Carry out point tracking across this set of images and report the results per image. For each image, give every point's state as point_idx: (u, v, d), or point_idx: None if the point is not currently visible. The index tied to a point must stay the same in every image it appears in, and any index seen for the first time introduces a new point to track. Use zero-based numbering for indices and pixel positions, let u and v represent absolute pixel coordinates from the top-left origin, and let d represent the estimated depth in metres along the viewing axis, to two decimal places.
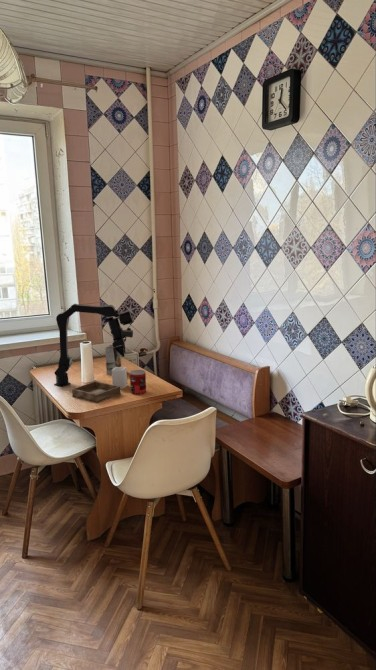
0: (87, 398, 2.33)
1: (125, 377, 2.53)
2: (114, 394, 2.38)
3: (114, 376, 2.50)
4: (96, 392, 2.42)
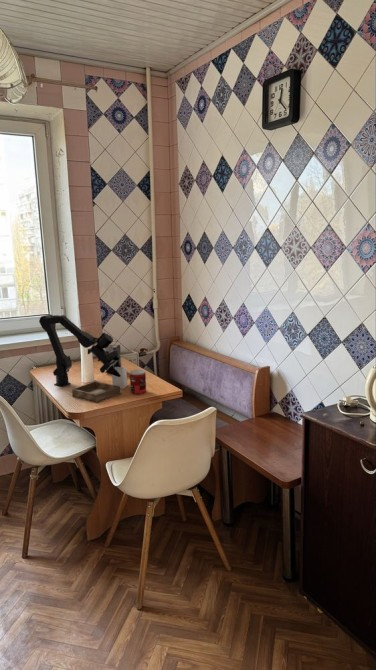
0: (87, 398, 2.33)
1: (125, 377, 2.53)
2: (114, 394, 2.38)
3: (114, 376, 2.50)
4: (96, 392, 2.42)
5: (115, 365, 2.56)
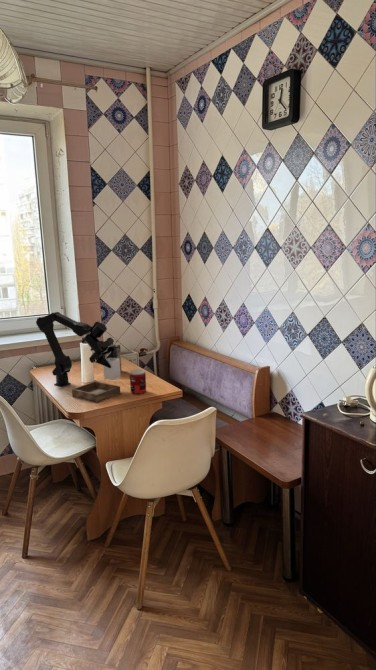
0: (87, 398, 2.33)
1: (117, 368, 2.45)
2: (114, 394, 2.38)
3: (105, 367, 2.43)
4: (96, 392, 2.42)
5: (109, 356, 2.48)
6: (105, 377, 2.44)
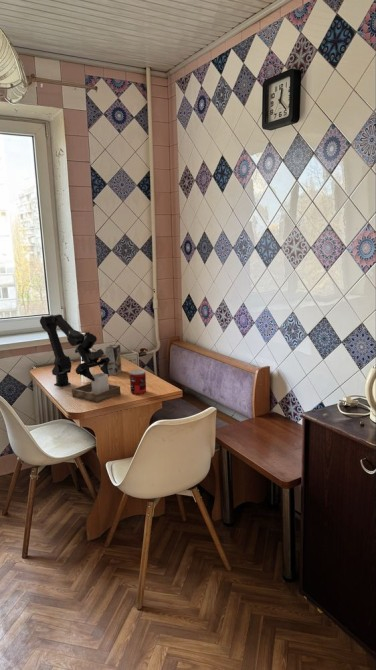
0: (87, 398, 2.33)
1: (105, 385, 2.38)
2: (114, 394, 2.38)
3: (93, 382, 2.37)
4: None
5: (102, 367, 2.43)
6: (93, 392, 2.39)
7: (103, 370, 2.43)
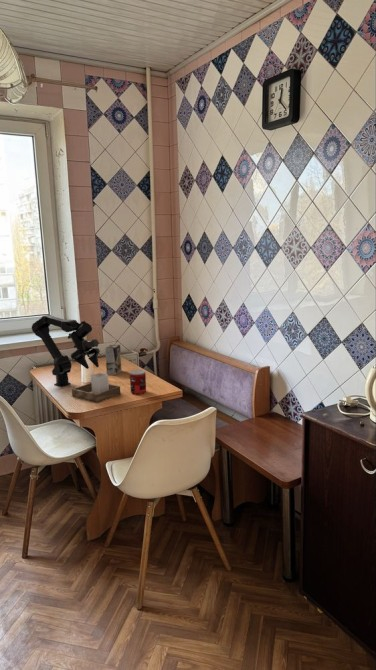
0: (87, 398, 2.33)
1: (105, 385, 2.38)
2: (114, 394, 2.38)
3: (93, 382, 2.37)
4: None
5: (92, 357, 2.50)
6: (93, 392, 2.39)
7: (92, 360, 2.49)
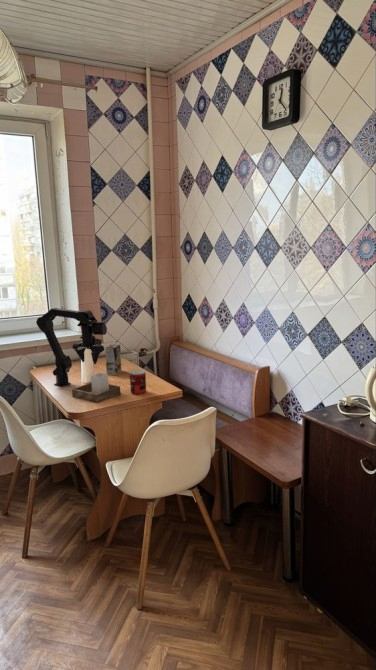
0: (87, 398, 2.33)
1: (105, 385, 2.38)
2: (114, 394, 2.38)
3: (93, 382, 2.37)
4: None
5: (81, 350, 2.54)
6: (93, 392, 2.39)
7: (81, 353, 2.54)
